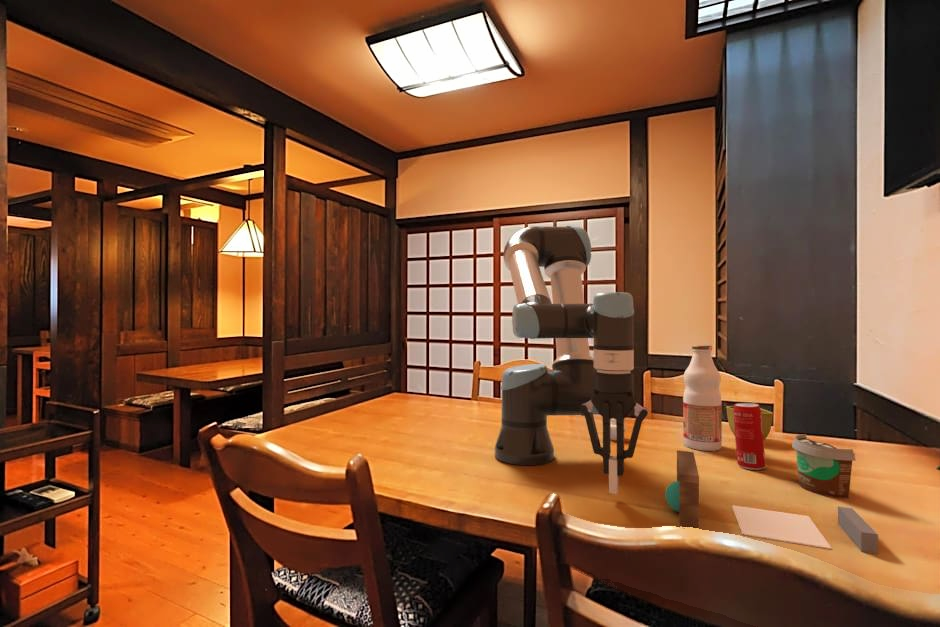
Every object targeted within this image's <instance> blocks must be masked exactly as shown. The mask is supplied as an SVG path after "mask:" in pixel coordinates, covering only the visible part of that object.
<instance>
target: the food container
mask: <svg viewBox="0 0 940 627" xmlns="http://www.w3.org/2000/svg"><path fill="white" fill-rule="evenodd" d="M791 447H792V449H794V450H795V452H796V453H795V454H796V455H795V456H796V465H797V472H798V473H797V475H798V484H799V486H800V487H801V488H802V489H804V490H805V491H807V492H810V493H813V494H816V495H820V496H825V497H829V498H835V499H836V498H837V499H849V497H850V488H851V478H852V468H853V461H856V456H855V452H854V449H852V448H851V449H850V448H837V447H835V446H833V445H831V444H829V443H825V442H819V441H815V440H813V439H809V438H807V434H806V433H805V434H804V433H802V434H797V435H795V437H794V438H793V441H792V445H791Z"/></svg>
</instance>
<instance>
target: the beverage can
mask: <svg viewBox="0 0 940 627" xmlns="http://www.w3.org/2000/svg"><path fill="white" fill-rule="evenodd" d="M733 406H734V409H733V413H734V426H735V436H734V438H735V449H736V450H735V451H736V452H735V453H736V460H737V461H736V462H737V463H736V464H737V465H738V467H740V468H741V469H746V470H752V471H753V470H756V471H760V470H764V469H765V468H766V466H767V465H766V456H765V454H766V453H765V442H764V441H765V440H763V427H762V415H761V409H762V408H761V407H760V404H758V403H753V402H736V403H734V405H733ZM760 408H761V409H760Z"/></svg>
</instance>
